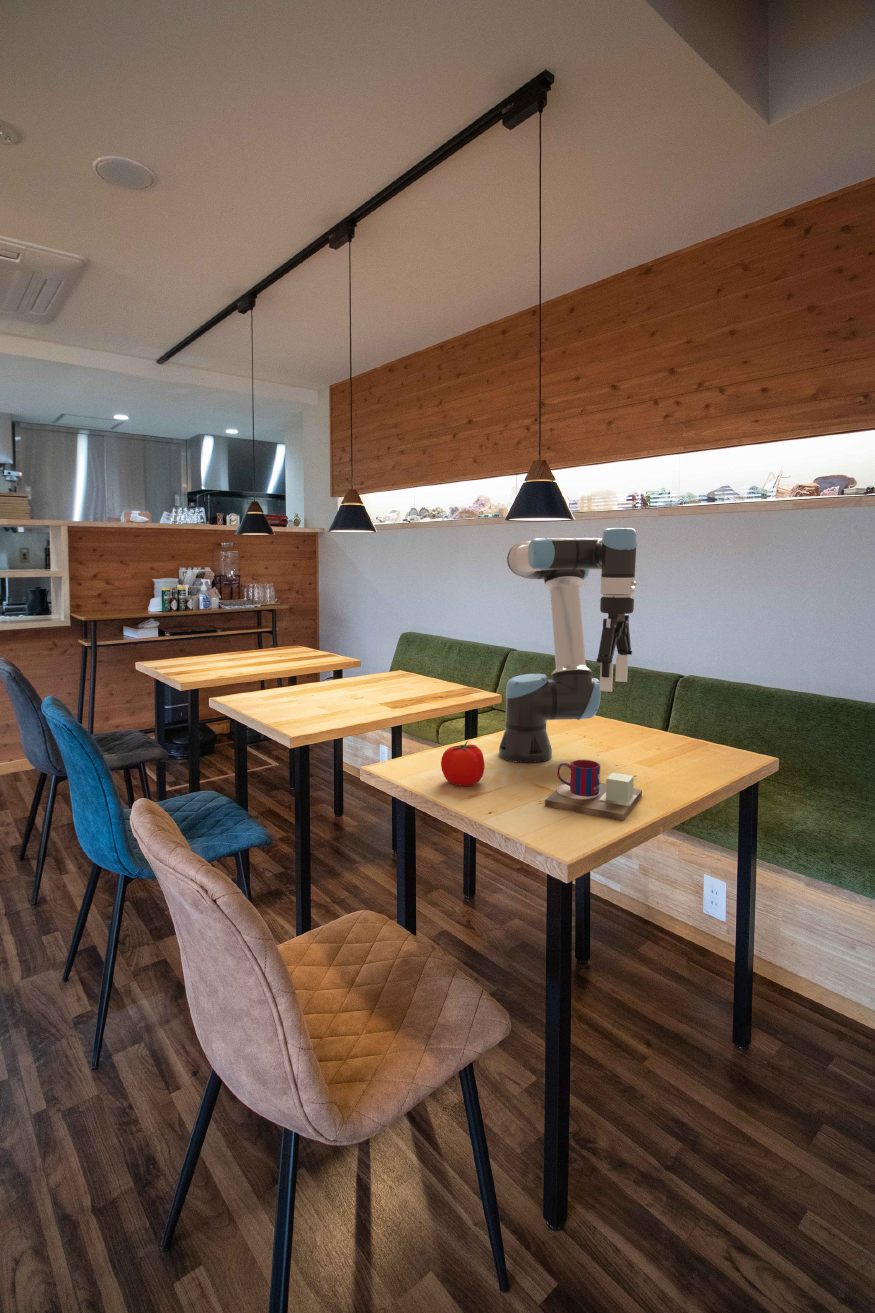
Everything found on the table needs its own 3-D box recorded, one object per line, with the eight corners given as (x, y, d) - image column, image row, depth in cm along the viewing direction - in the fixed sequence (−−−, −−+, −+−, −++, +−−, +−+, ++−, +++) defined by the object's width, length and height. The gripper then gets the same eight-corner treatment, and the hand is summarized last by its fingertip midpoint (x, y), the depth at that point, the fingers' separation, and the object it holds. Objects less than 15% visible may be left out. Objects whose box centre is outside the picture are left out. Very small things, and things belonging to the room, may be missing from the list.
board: (544, 806, 156) (545, 798, 155) (569, 783, 171) (569, 776, 170) (623, 820, 147) (623, 813, 146) (641, 796, 162) (642, 788, 162)
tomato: (477, 774, 178) (478, 736, 177) (489, 790, 166) (490, 750, 165) (436, 776, 177) (436, 738, 175) (445, 793, 164) (445, 752, 163)
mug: (593, 798, 155) (594, 770, 154) (552, 790, 160) (553, 763, 159) (602, 790, 161) (603, 762, 160) (563, 782, 166) (563, 756, 165)
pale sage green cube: (627, 803, 152) (628, 782, 151) (605, 799, 155) (606, 778, 154) (632, 796, 156) (633, 775, 156) (611, 792, 159) (612, 772, 158)
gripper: (619, 599, 143) (615, 697, 146) (645, 593, 165) (642, 679, 168) (585, 598, 147) (582, 693, 150) (615, 592, 168) (612, 676, 171)
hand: (613, 686), depth 159 cm, fingers open, 13 cm apart
